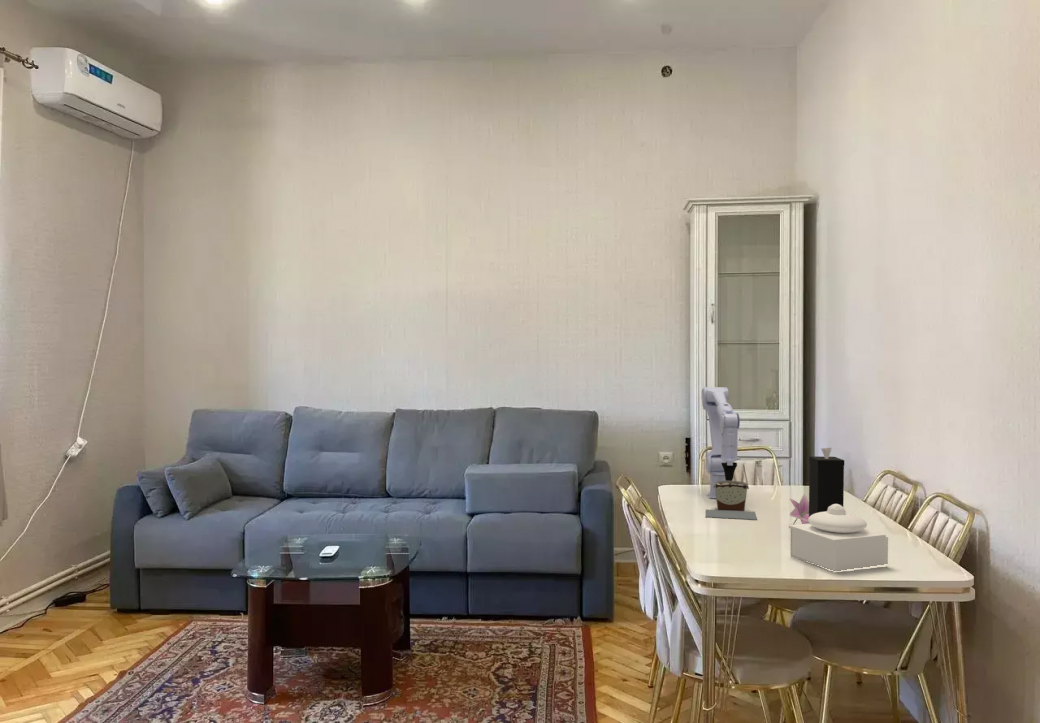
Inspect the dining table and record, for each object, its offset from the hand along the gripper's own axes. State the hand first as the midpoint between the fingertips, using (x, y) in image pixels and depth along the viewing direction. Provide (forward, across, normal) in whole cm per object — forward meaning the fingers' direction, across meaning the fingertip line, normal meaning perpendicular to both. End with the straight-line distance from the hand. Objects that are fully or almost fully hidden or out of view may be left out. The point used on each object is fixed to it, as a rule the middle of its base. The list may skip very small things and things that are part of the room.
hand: (729, 482), depth 287 cm
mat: (+8, -18, 0) cm, 20 cm away
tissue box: (+9, -46, -27) cm, 54 cm away
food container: (+9, -8, 0) cm, 12 cm away
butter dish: (+9, -72, -26) cm, 77 cm away
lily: (+9, -31, -22) cm, 39 cm away
